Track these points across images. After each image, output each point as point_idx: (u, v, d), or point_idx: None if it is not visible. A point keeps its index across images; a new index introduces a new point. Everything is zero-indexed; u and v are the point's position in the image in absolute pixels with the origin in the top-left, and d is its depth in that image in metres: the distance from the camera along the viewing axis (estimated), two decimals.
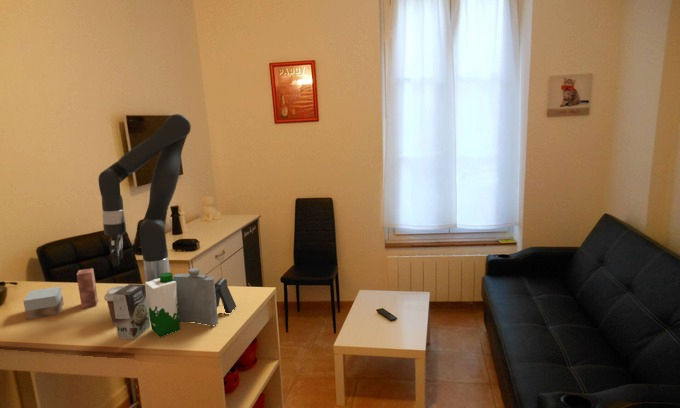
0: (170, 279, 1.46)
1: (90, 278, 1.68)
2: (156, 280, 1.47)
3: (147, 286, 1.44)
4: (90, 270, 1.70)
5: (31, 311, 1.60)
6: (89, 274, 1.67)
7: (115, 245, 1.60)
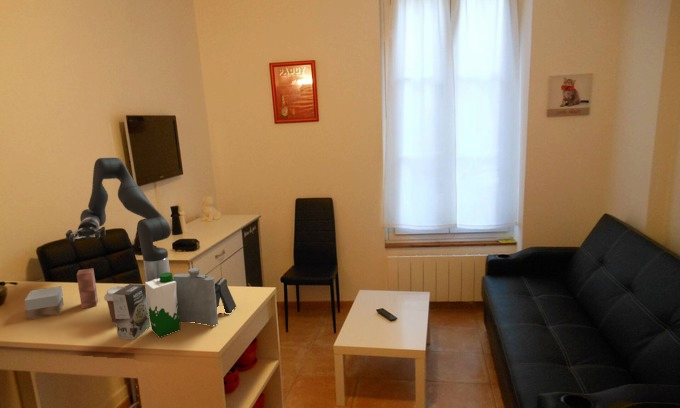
0: (170, 279, 1.46)
1: (90, 278, 1.68)
2: (156, 280, 1.47)
3: (147, 286, 1.44)
4: (90, 270, 1.70)
5: (31, 311, 1.60)
6: (89, 274, 1.67)
7: None
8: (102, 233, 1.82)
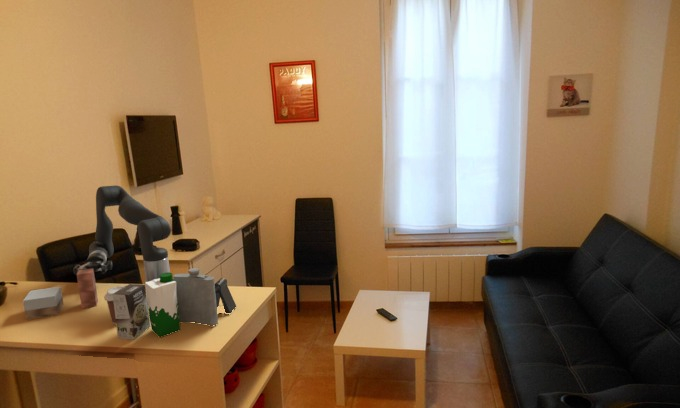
0: (170, 279, 1.46)
1: (90, 278, 1.68)
2: (156, 280, 1.47)
3: (147, 286, 1.44)
4: (90, 270, 1.70)
5: (31, 311, 1.60)
6: (89, 274, 1.67)
7: None
8: (108, 267, 1.86)
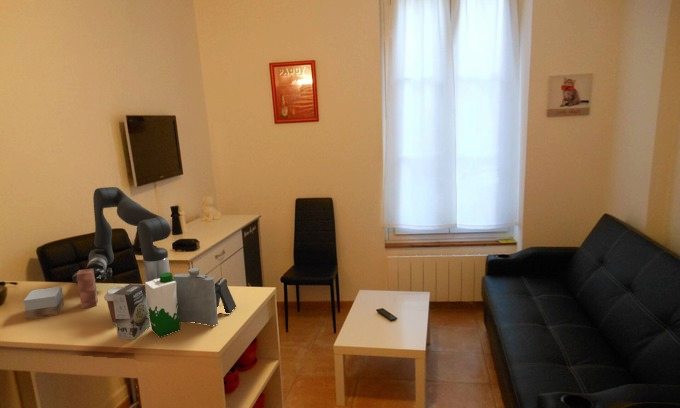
0: (170, 279, 1.46)
1: (90, 278, 1.68)
2: (156, 280, 1.47)
3: (147, 286, 1.44)
4: (90, 270, 1.70)
5: (31, 311, 1.60)
6: (89, 274, 1.67)
7: None
8: (108, 275, 1.82)
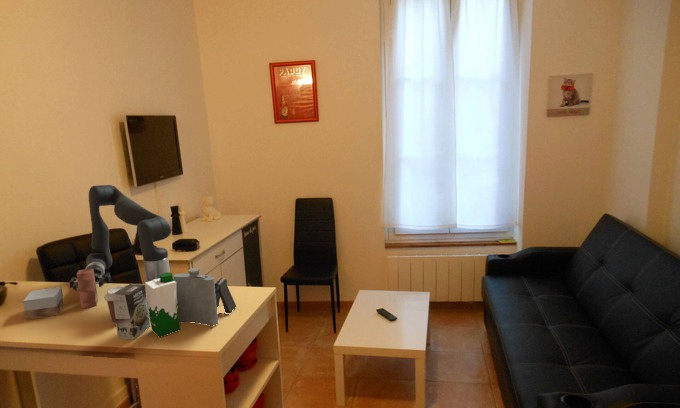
0: (170, 279, 1.46)
1: (90, 278, 1.68)
2: (156, 280, 1.47)
3: (147, 286, 1.44)
4: (90, 270, 1.70)
5: (31, 311, 1.60)
6: (89, 274, 1.67)
7: None
8: (106, 280, 1.77)
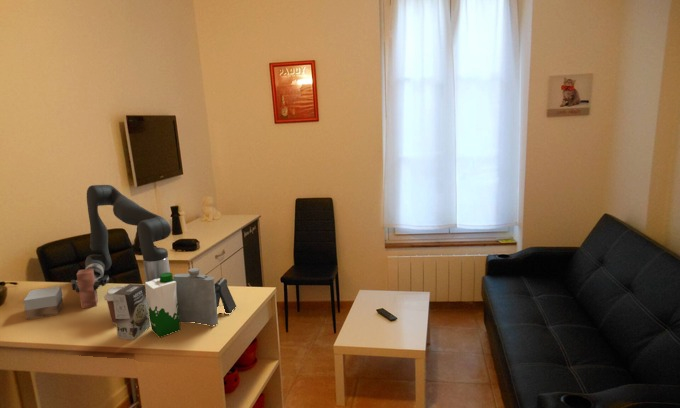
0: (170, 279, 1.46)
1: (90, 278, 1.68)
2: (156, 280, 1.47)
3: (147, 286, 1.44)
4: (90, 270, 1.69)
5: (31, 311, 1.60)
6: (89, 274, 1.67)
7: (71, 282, 1.73)
8: (101, 283, 1.73)
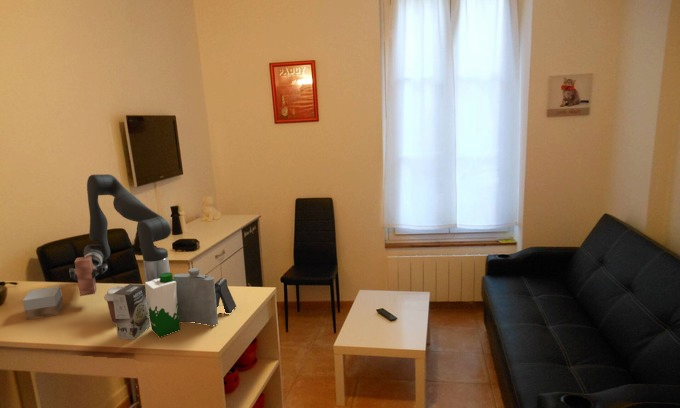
0: (170, 279, 1.46)
1: (88, 265, 1.66)
2: (156, 280, 1.47)
3: (147, 286, 1.44)
4: (88, 258, 1.68)
5: (31, 311, 1.60)
6: (87, 261, 1.66)
7: (69, 270, 1.71)
8: (99, 271, 1.72)
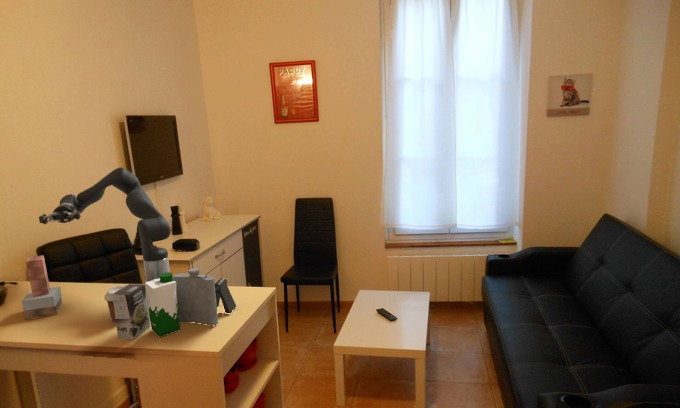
0: (170, 279, 1.46)
1: (41, 265, 1.61)
2: (156, 280, 1.47)
3: (147, 286, 1.44)
4: (40, 257, 1.62)
5: (29, 311, 1.60)
6: (40, 261, 1.60)
7: None
8: (76, 216, 1.81)
